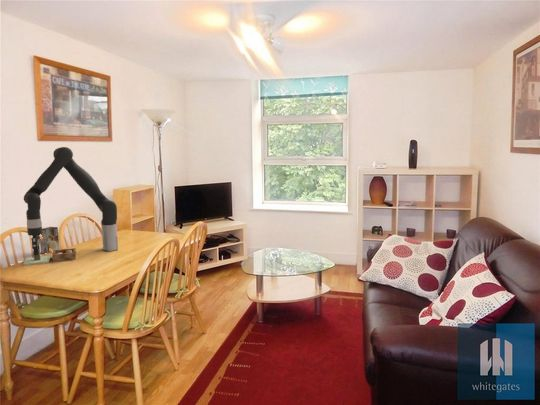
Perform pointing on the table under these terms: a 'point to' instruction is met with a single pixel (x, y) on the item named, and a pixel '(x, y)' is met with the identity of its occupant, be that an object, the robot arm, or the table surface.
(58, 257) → the box
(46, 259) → the lid
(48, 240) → the coffee box
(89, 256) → the table surface
